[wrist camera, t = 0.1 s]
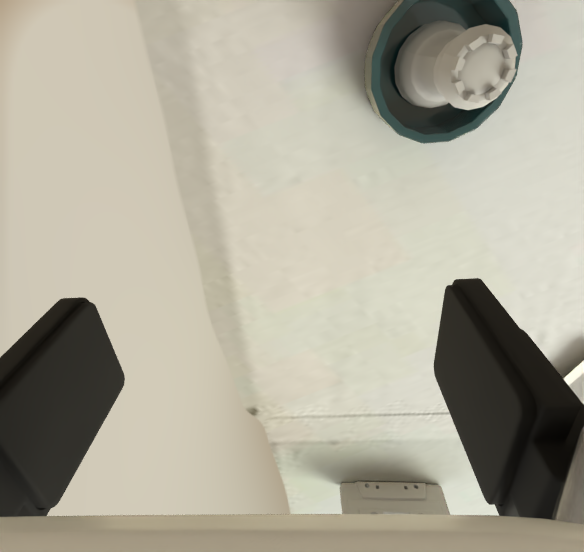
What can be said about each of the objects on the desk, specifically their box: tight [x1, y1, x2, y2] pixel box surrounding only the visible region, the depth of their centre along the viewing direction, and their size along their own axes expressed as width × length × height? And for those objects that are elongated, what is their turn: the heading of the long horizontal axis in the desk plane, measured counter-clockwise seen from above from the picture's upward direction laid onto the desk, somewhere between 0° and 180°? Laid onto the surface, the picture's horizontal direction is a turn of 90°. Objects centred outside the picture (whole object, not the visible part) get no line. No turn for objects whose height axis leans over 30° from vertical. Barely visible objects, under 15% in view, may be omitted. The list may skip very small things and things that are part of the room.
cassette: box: [340, 481, 450, 515], centre depth 41 cm, size 12×2×8 cm, turn 91°
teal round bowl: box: [364, 0, 523, 143], centre depth 21 cm, size 8×8×3 cm
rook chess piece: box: [394, 21, 518, 110], centre depth 19 cm, size 4×4×8 cm
